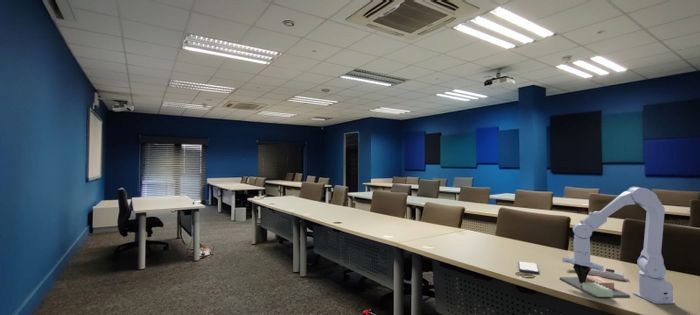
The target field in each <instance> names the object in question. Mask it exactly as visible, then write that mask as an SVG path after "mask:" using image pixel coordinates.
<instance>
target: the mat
mask: <svg viewBox="0 0 700 315" xmlns="http://www.w3.org/2000/svg"><path fill="white" fill-rule="evenodd" d="M559 280H560V281H562V282H564V283H566V284H568V285H570V286H572V287H574V288H575V289H577V290H580V291H582V292H583V291H584V293H586V294H588V295H590V296H591V297H593V298H599V297H598V296H596V295H594V294H592V293H590V292H588V291H586V290H584V289H582V284H581V283H579V279H578V276H577V277H575V276H569V277H568V276H566V277H565V276H564V277H563V276H559ZM611 290H613V297H612V298H630V297H631V296H630V294H628V293H626V292H624V291H622V290H619V289H617V288H615V287H614V289H611Z"/></svg>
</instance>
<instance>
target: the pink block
mask: <svg viewBox="0 0 700 315" xmlns="http://www.w3.org/2000/svg"><path fill="white" fill-rule="evenodd" d="M585 283H598V284H600V285H603V286H605V287H607V288H609V289H614V288H615V282H613V281H611V280H608V279H607V278H605V277H601V276H596V275H587V278H586V281H585Z"/></svg>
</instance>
